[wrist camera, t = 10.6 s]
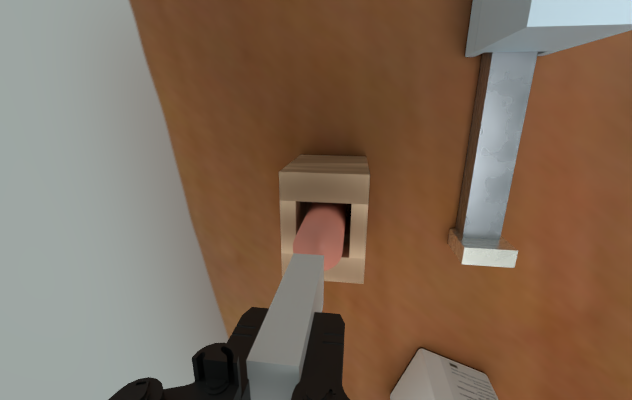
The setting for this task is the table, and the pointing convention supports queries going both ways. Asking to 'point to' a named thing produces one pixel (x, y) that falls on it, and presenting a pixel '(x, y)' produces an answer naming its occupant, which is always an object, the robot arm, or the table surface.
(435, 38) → the table surface
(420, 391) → the container
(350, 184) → the wooden box
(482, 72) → the rail
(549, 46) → the carriage
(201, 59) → the table surface
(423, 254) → the table surface
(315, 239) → the plunger
